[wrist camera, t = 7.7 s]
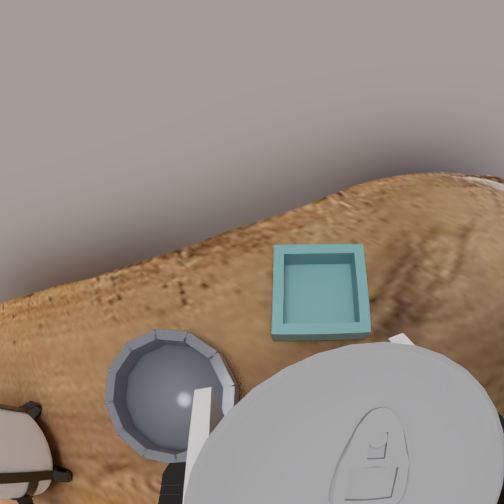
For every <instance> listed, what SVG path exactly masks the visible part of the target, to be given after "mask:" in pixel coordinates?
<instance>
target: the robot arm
mask: <svg viewBox="0 0 504 504" xmlns="http://www.w3.org/2000/svg"><path fill="white" fill-rule="evenodd" d="M388 342H391V343H399V344H408V345H414V344H413V343H412V342H411V341H410V340H409V339H408V338H407V337H406V336H405V334H404V333H401V334H399V335H396V336H393V337H391V338H388ZM497 413H498V412H497ZM498 416H499V419H500V422H501V426H502V429H503V433H504V419H503V418H502V416H501V415H500V414H499V413H498ZM223 417H224V413H223V411H222V409H221V407H220V405H219V402H218V400H217V398H216V396H215V393H214V391H213V389H212V387H208V388H202V389H196V390H194V398H193V406H192V414H191V423H190V431H189V440H188V450H187V459H186V462H176V463H169V465H168V466H167V468H166V469H165V471H164V473H163V477H162V483H161V485H162V487H161V490H160V497H159V503H158V504H184V496H185V492H186V488H187V485H188V481H189V477H190V473H191V469H192V467H193V465H194V463H195V461H196V459H197V457H198V455H199V453H200V451H201V449H202V447H203V445H204V443H205V441H206V439H207V438H208V437H209V435H210V434H211V433H212V432H213V430H214V429H215V428H216V426H217V425H218V424H219V422H220V421H221V420H222V419H223ZM497 504H504V479H503V486H502V489H501V493H500V496H499V499H498V502H497Z"/></svg>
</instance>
